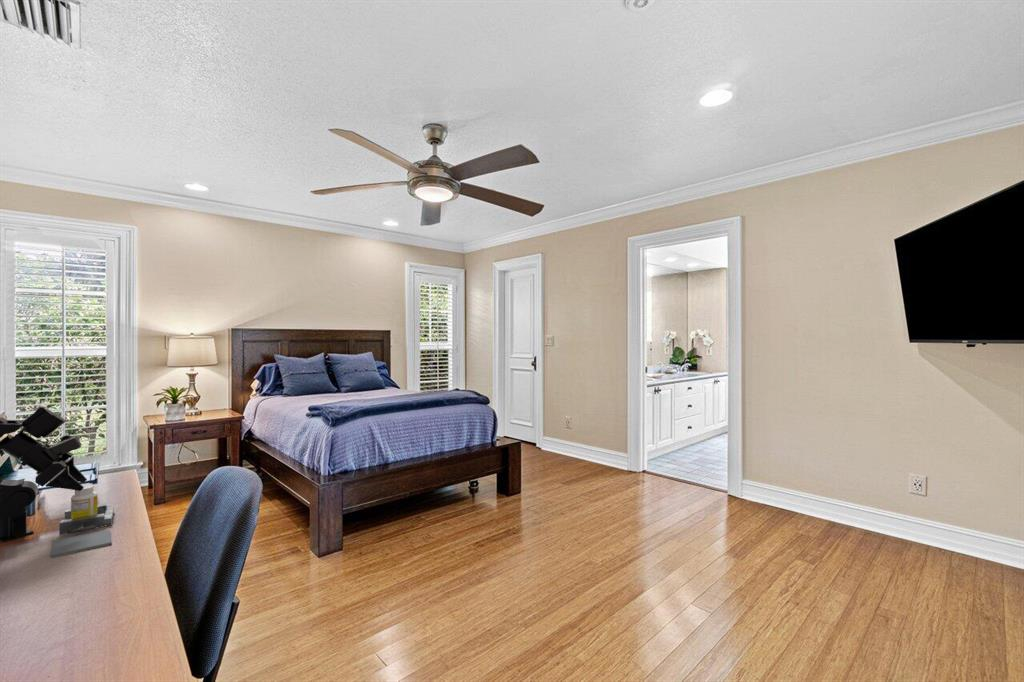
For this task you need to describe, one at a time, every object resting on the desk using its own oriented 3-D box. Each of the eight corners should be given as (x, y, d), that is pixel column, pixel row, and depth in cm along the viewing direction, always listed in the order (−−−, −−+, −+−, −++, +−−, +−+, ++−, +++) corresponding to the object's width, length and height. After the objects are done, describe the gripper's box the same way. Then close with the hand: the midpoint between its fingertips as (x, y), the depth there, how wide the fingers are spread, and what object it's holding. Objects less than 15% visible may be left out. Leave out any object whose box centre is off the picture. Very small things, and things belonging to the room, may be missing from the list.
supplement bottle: (89, 518, 139) (89, 483, 138) (102, 521, 137) (102, 485, 137) (66, 525, 133) (66, 489, 133) (78, 528, 131) (78, 491, 131)
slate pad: (53, 542, 122) (53, 540, 122) (109, 531, 129) (110, 529, 129) (51, 557, 114) (51, 555, 114) (111, 544, 121) (111, 542, 121)
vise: (110, 530, 130) (110, 519, 130) (56, 540, 124) (56, 528, 124) (113, 512, 144) (113, 502, 144) (65, 520, 137) (65, 509, 137)
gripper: (53, 433, 124) (108, 469, 131) (63, 422, 139) (112, 455, 146) (9, 468, 119) (69, 503, 126) (24, 453, 134) (77, 486, 141)
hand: (83, 485), depth 135 cm, fingers open, 9 cm apart
